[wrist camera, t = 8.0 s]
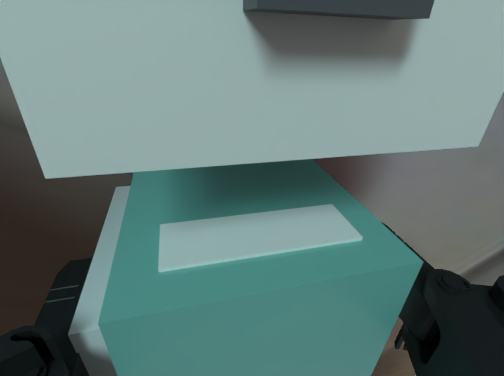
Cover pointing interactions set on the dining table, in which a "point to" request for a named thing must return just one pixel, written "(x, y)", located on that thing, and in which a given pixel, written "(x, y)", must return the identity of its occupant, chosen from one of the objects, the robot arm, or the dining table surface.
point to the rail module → (251, 275)
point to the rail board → (248, 79)
